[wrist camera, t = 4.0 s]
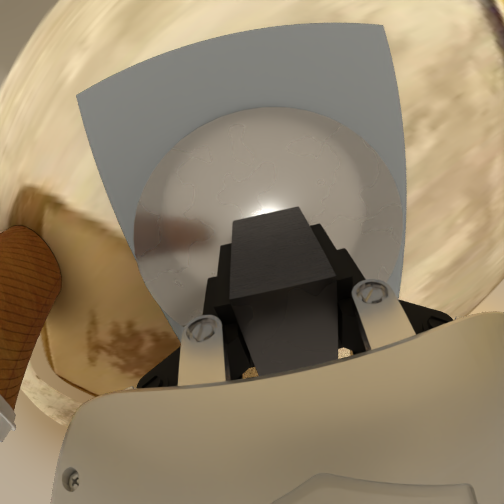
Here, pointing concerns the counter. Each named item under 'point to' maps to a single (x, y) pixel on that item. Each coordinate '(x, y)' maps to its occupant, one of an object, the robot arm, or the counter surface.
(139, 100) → the mat
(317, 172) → the lid
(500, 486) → the robot arm
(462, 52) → the counter surface
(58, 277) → the disposable coffee cup
